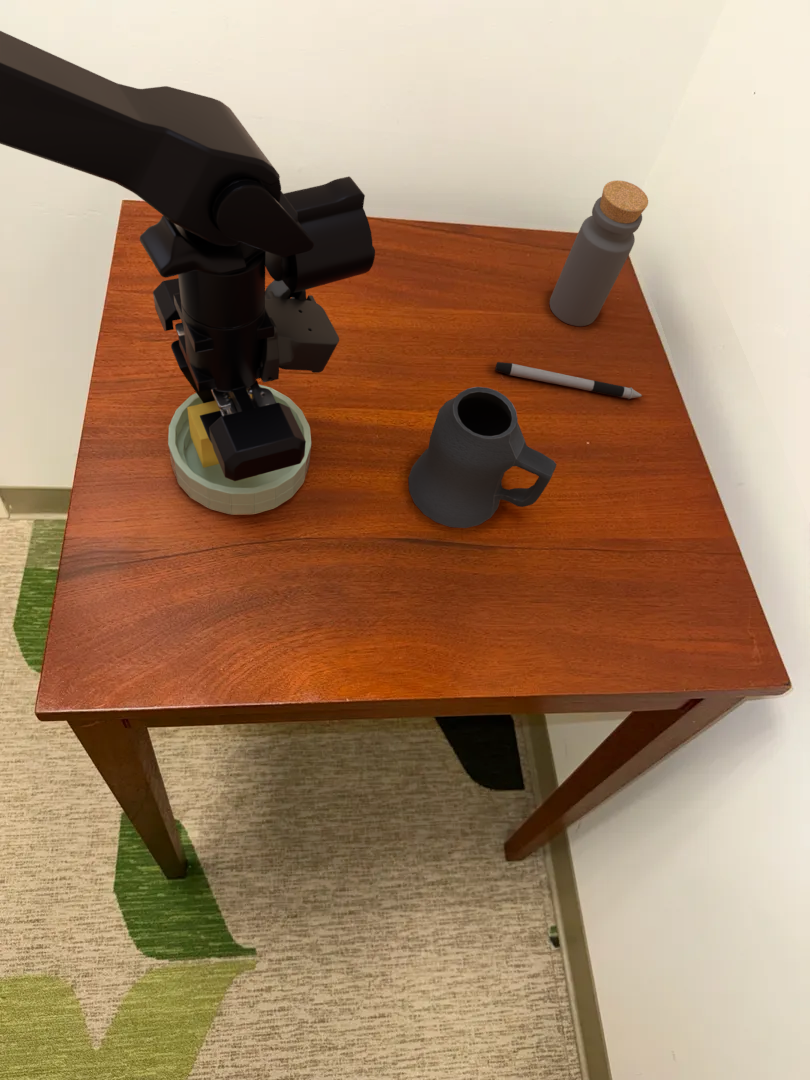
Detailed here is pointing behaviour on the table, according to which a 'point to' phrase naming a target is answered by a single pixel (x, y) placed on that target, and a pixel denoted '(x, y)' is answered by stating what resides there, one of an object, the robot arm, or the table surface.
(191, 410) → the sponge
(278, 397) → the bowl
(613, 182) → the bottle
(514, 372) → the pen
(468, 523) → the mug
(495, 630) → the table surface
